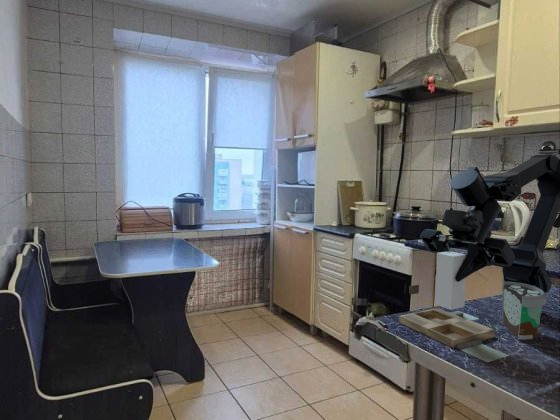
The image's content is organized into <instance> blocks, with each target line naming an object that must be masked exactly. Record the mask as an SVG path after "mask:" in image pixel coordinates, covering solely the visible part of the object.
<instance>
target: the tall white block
mask: <svg viewBox="0 0 560 420" xmlns="http://www.w3.org/2000/svg"><path fill="white" fill-rule="evenodd" d="M466 256H467V253H462V252H456V251H452V250H451V251H447V252H440V253H436V261H437V267H436V266H435V269H436V275H435V293H434V294H435V295H434V296H435V297H434V298H435V299H434V301H435V302H434V305H436V306H439V307H442V308H444V309H447V310H450V311H452V310H456V309H461V308H464V307H465V305H466V304H465V301H466V300H465V299H466V297H465V296H466V281H467V280H466V279H467V277H466V278H464V279H462V280H461V281H459V282H457V281H456V279H455V277H456V275H457V272H458V270H459V269H460V267H461V265H462V263H463V262H464V260H465V258H466Z"/></svg>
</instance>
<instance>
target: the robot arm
mask: <svg viewBox="0 0 560 420" xmlns="http://www.w3.org/2000/svg"><path fill="white" fill-rule="evenodd" d="M533 181H536V182H537V189H538V191H539V198H538V200H537V203H536V206H535V209H534V211H533V214H532V216H531V218H530V221H529V223H528V225H527V229H526V231H525V233H524V236H523V238H522V241H521V243H520V245H519V246H517V247H511V245H510V243H509V242H508V240H507V239H506V238H501V237H500V238H499V237H492V235H493V233H492V232H491V229H492V227H493V225H494V223H495V221H496V220H497V219H504V218H505V215H504V211H503V210H502V206H501V205H500V203H499V202H510V203H511V202H513V201H514V200H515V199H517V198H518V197H519V196H520V195H521V194H522V188H523V187H524V186H527V185H528V184H529V183H531V182H533ZM449 185H450V187H451V188H452V190H453V192H454V193H455V194H456V196H457V197H458V199H459V201H460V203H462V205H463V206H465V207H469V208H468V210H467V211H465V210H461V209H460V210H459V209H445V210H444V213H443V216H442V220H441V225H442V226H445V227H447V228H448V233H449V235H451V236H452V237H448V235H444V233H443V232H442V230H439V229H438V230H437V229H430V228H426V229H423V231H422V232H421V234H420V235H419V238H420V240H421V241H422V243H423V244H424V246H425V247H426V249H427V250H428V252H431V253H432V254H433V253H434V254H437V253H440V252H447V251H452V250H453V249H454V250H460V251H466V255H467V256H466V258H465V260H464V262H463V263H462V265H461V267H460V269H459V270H458V272H457V275H456V277H455V279H456V281H457V282H459V281H461V280H462V279H464V278H466V279H467V278H468V277H469V276H471V275H472V274H474V273H475V272H477V271H479V270H481V269H484V268H485V267H491V266H492V265H493V263H492V261H494V263H495V265H499V266H502V268H501V269H502V275H503V281H505V282H515V283H522V284H526V285H530V286H534V287H537V288H539V289H541V290H542V291H543V292H544V294H545V293H546V294H548V293H549V291H550V290H551V288H552V283H553V282H552V280H551V278H550V277H549V275H548V273H547V271H546V269H547V263H546V259H545V256H544V251H545V248H546V246H547V244H548V240H549V238H550V235H551V233H552V230H553V228H554V225H555V222H556V220H557V216H558V215H559V212H560V158H559V157H558V156H557V155H555V154H552V153H550V154H547V153H546V154H543V153H542V154H534V155H532V156H530V158H529V159H527V160H526V161H524V162H521V163H520V164H517V165H516V166H514V167H512V168H511V169H509V170H507V171H504V172H499V173H498V172H497V173H492V174H488V175H484V176H482V174H481V171H480V169H479V168H478V166H468V167H467V169H466V170H463V171H461V172H459V173H457V174H456V175H455V176H453V177H452V178H451V179H450V182H449ZM436 267H437V260H436V262H435V271H434V272H435V273H434V275H435V276H436ZM545 314H547V311H546V310H541V316H542V315H545Z"/></svg>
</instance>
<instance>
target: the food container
mask: <svg viewBox="0 0 560 420" xmlns="http://www.w3.org/2000/svg"><path fill="white" fill-rule="evenodd" d="M501 290H502V325H504V326H505V328H506V329H507V330H508V331H510V333H511V334H512V335H513V337H515V338H516V340H517V341H519V342H520V341H521V342H529V341H533V340H537V338H538V335H539V330H540V329H539V328H540V324H541V323H540V322H541V317H542V315H541V310H542V308H543V306H545V305H547V299H546V295H545V292H543V291H542V290H541V289H539V288H537V287H534V286H530V285H526V284H522V283H515V282H505V281H504V280H503V282H502V288H501Z"/></svg>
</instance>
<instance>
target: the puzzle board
mask: <svg viewBox="0 0 560 420" xmlns="http://www.w3.org/2000/svg"><path fill="white" fill-rule="evenodd" d="M476 320H480V318H479V317H476V316H473V315H471V314H468V313H465V312H462V311H460V310H456V311H451V312H449V311H446V310H443V309H441V308H437V307H436V308H431V309H427V310H422V311H416V312H413V313H412V312H411V313H407V314H402V315H398V323H399V324H400V325H403V326H406V327H408V328H410V329H412V330H414V331H416V332H419V333H421V334H422V335H425V336H427V337H429V338H431V339H433V340H435V341H438V342H440V343H442V344H444V345H446V346H448V347H451V348H453V349H454V348H456V349H458V350H460V351H462V352H463V353H466V354H468V355H471V356H472V357H475V358H477V359H479V360H481V361H484V362H486V363H489V362H490V363H491V362H494V361H497V360H500V359H504V358H506V357H510V355H509V354H506V353H504V352H502V351H501V350H500V351H499V350H497V349H494V348H492V347H490V346H488V345H485V344H483V342H482V341H484V340H488V339H493V338H495V332H496V331H495V330H496V329H495V328H491V327H488V326H486V325H484V324H480V323H479V322H475V321H476Z"/></svg>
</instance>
